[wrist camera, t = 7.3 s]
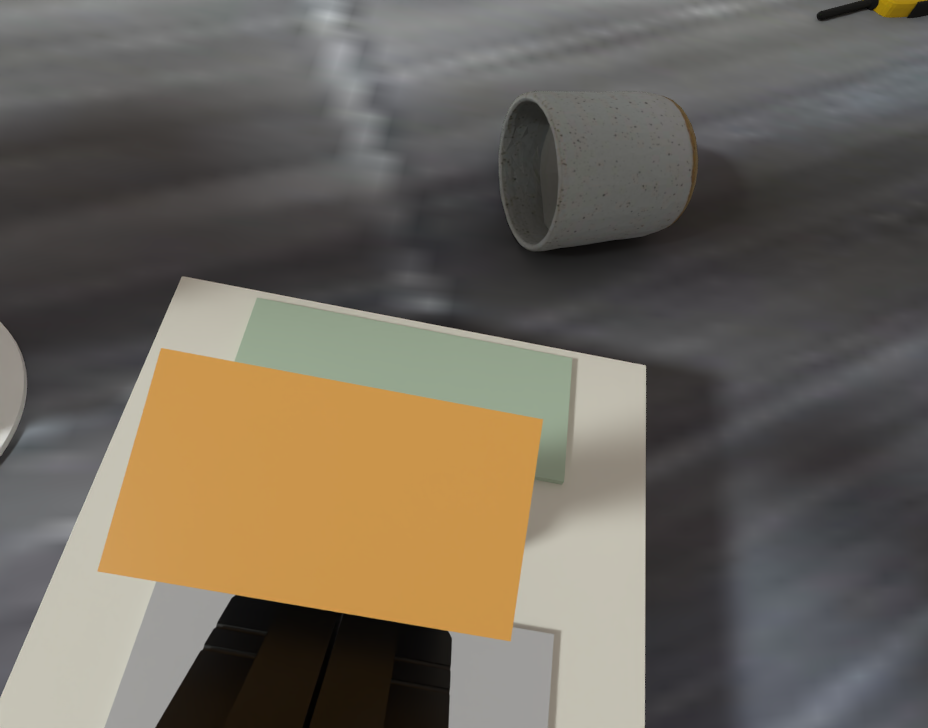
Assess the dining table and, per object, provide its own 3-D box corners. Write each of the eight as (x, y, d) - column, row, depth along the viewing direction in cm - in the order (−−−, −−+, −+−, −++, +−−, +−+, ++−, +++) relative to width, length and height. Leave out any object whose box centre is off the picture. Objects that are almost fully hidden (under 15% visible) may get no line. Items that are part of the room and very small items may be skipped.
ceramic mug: (668, 259, 38) (734, 151, 32) (530, 283, 36) (570, 172, 29) (595, 125, 43) (638, 8, 36) (469, 140, 41) (491, 18, 34)
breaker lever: (427, 556, 22) (510, 641, 6) (315, 536, 22) (97, 570, 6) (438, 493, 23) (543, 420, 7) (329, 474, 23) (161, 347, 6)
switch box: (581, 843, 24) (690, 881, 17) (56, 762, 23) (-91, 761, 16) (598, 428, 32) (676, 323, 25) (209, 356, 31) (163, 223, 24)
